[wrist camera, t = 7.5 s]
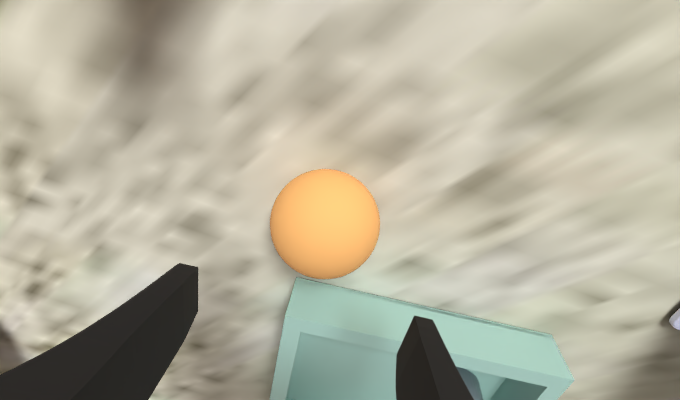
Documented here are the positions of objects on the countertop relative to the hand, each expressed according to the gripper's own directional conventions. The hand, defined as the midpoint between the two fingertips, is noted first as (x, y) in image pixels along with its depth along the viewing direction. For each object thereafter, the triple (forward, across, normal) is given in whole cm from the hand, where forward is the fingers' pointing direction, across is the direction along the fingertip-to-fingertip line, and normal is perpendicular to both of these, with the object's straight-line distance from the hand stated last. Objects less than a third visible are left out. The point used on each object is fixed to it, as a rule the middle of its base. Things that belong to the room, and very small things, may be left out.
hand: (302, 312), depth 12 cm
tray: (+8, -7, +12) cm, 16 cm away
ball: (+5, 0, 0) cm, 5 cm away
